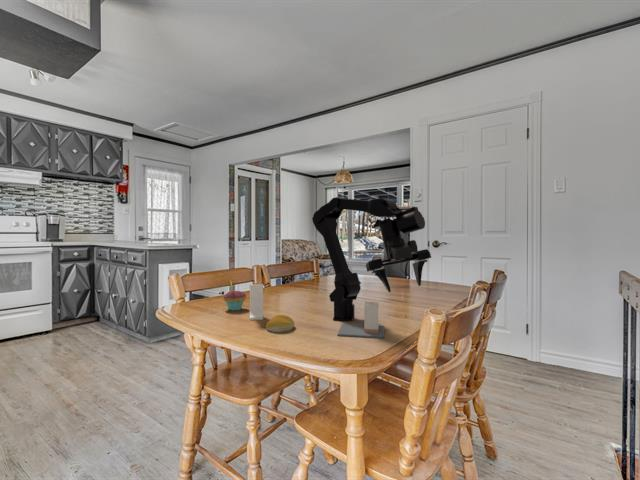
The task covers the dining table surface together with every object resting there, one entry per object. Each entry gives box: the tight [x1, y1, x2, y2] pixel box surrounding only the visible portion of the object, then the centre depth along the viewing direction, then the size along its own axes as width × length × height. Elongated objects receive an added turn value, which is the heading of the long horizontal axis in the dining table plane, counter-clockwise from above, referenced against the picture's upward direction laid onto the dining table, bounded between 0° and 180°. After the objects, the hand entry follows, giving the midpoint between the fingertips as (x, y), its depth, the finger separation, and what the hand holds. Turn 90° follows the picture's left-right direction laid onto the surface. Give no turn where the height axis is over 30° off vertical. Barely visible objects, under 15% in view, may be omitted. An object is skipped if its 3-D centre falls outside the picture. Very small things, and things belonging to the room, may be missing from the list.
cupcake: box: [223, 278, 247, 311], centre depth 130 cm, size 9×8×12 cm
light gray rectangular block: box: [249, 283, 264, 321], centre depth 117 cm, size 5×6×12 cm
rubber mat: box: [337, 323, 385, 339], centre depth 101 cm, size 13×11×1 cm
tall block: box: [363, 301, 380, 333], centre depth 100 cm, size 4×5×8 cm
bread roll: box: [265, 314, 295, 333], centre depth 104 cm, size 8×9×4 cm
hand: (404, 288), depth 100 cm, fingers open, 9 cm apart
